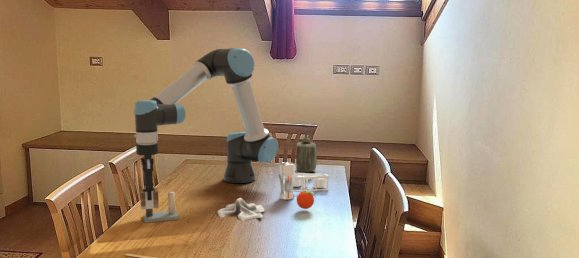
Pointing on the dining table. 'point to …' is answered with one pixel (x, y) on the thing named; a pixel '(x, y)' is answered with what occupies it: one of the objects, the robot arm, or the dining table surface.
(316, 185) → the clear divided organizer
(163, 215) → the pin stand
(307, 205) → the clementine
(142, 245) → the dining table surface
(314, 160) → the green square bottle
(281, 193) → the beer glass
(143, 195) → the brown open cube
